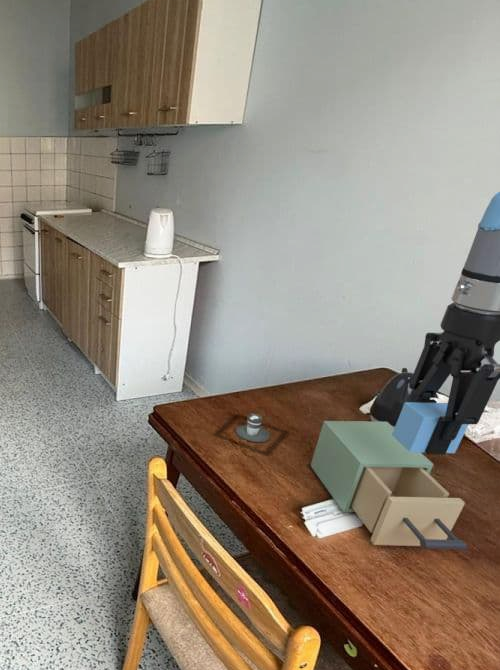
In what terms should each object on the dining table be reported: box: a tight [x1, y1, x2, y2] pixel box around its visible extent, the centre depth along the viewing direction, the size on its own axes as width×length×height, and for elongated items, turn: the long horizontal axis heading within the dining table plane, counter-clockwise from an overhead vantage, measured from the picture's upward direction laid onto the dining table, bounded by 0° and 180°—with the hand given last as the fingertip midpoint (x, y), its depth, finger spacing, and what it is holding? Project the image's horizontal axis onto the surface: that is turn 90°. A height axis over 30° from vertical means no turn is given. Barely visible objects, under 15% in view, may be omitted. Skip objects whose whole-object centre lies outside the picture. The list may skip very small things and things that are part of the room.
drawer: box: [350, 467, 468, 550], centre depth 82 cm, size 20×11×10 cm, turn 177°
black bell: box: [369, 367, 422, 429], centre depth 112 cm, size 10×10×15 cm
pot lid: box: [235, 412, 271, 443], centre depth 113 cm, size 12×12×5 cm
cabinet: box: [310, 420, 435, 513], centre depth 93 cm, size 15×13×12 cm
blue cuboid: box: [392, 402, 470, 454], centre depth 77 cm, size 7×5×6 cm
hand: (423, 442), depth 78 cm, fingers closed on blue cuboid, 5 cm apart
